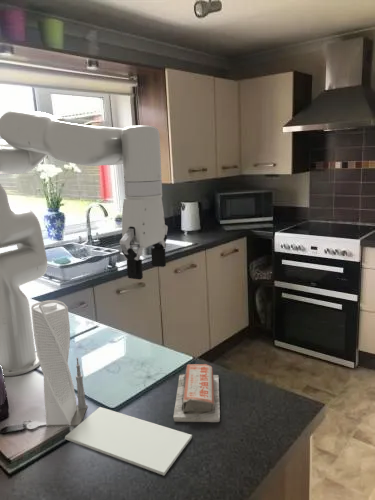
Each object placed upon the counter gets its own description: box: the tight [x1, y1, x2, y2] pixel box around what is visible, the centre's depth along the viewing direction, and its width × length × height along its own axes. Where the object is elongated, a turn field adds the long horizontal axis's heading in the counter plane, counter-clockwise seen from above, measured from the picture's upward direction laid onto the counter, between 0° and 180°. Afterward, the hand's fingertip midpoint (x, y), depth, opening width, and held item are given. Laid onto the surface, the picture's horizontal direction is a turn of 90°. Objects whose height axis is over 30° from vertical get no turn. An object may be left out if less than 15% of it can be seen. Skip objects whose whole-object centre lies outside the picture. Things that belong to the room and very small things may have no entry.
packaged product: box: [173, 363, 221, 423], centre depth 95 cm, size 18×5×10 cm
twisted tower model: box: [30, 299, 88, 428], centre depth 86 cm, size 8×8×28 cm
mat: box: [64, 406, 193, 476], centre depth 83 cm, size 23×11×1 cm, turn 63°
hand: (147, 272), depth 87 cm, fingers open, 9 cm apart
